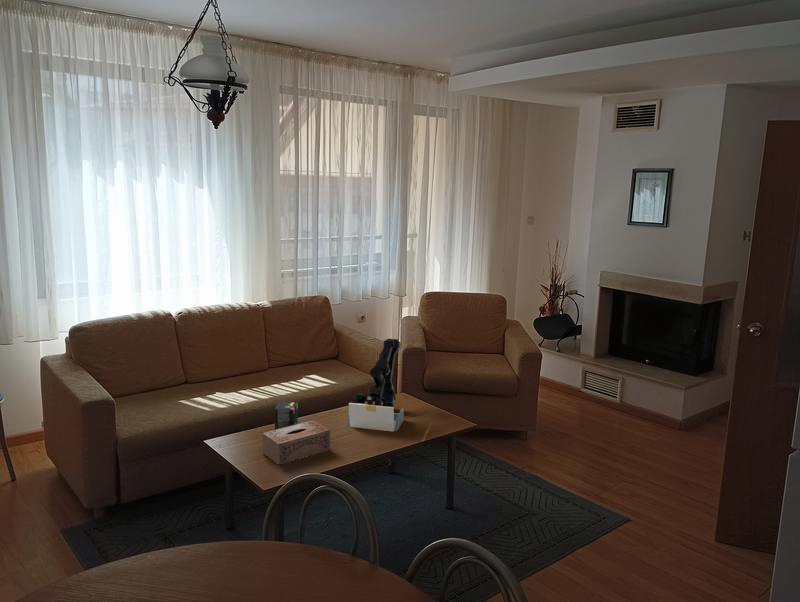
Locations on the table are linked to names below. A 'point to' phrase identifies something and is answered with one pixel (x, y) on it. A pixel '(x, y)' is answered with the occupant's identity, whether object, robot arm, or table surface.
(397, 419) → the carton
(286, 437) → the tissue box cover
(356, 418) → the flap
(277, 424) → the tampon box
